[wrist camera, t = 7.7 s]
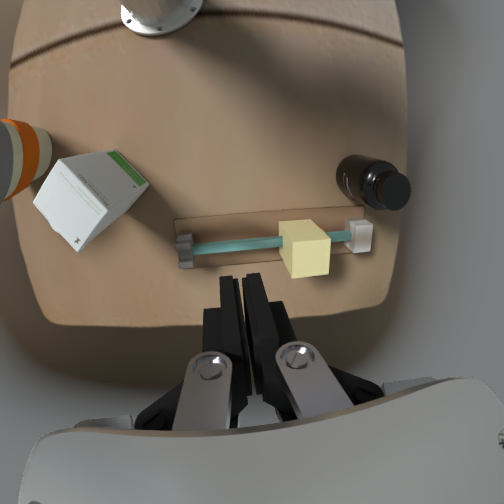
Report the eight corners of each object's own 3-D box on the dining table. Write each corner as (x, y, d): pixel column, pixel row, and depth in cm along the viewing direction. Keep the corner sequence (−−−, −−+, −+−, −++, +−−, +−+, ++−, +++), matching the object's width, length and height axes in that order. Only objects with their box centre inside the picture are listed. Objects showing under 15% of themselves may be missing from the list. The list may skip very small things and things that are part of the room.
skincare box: (151, 184, 37) (113, 212, 23) (123, 215, 39) (79, 257, 24) (113, 146, 34) (58, 155, 20) (88, 179, 35) (29, 204, 21)
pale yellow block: (278, 221, 41) (292, 242, 33) (310, 219, 41) (330, 238, 34) (279, 252, 43) (292, 278, 35) (309, 249, 43) (328, 274, 36)
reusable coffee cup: (70, 166, 34) (12, 184, 20) (24, 202, 35) (-30, 231, 21) (47, 102, 29) (-13, 98, 15) (3, 143, 30) (-54, 156, 16)
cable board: (174, 219, 40) (169, 229, 36) (363, 205, 42) (377, 213, 38) (182, 267, 43) (178, 282, 39) (359, 250, 45) (372, 262, 41)
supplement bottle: (326, 181, 40) (363, 198, 29) (349, 145, 38) (393, 151, 27) (357, 204, 42) (398, 228, 31) (379, 171, 40) (425, 185, 29)
